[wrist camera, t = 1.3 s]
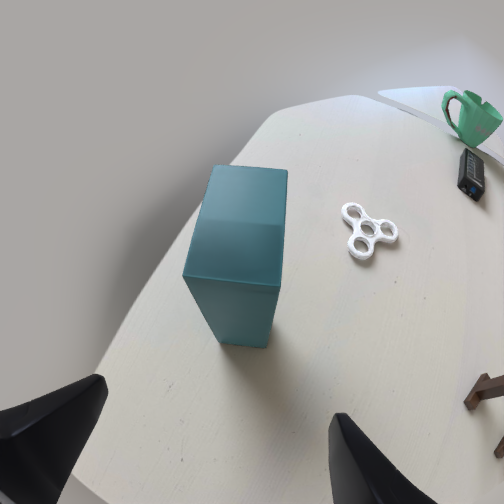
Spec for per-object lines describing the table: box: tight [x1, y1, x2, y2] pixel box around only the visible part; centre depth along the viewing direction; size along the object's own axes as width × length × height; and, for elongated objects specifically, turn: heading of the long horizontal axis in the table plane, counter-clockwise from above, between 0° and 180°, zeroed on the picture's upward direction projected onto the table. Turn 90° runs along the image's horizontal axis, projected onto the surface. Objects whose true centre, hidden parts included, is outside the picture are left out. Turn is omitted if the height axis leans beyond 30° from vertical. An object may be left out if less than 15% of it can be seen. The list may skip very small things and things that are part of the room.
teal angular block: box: [182, 165, 288, 348], centre depth 18 cm, size 7×4×13 cm, turn 173°
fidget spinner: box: [341, 203, 399, 259], centre depth 27 cm, size 7×6×1 cm
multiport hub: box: [457, 148, 485, 201], centre depth 33 cm, size 4×11×2 cm, turn 143°
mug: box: [441, 90, 503, 148], centre depth 36 cm, size 15×10×10 cm
